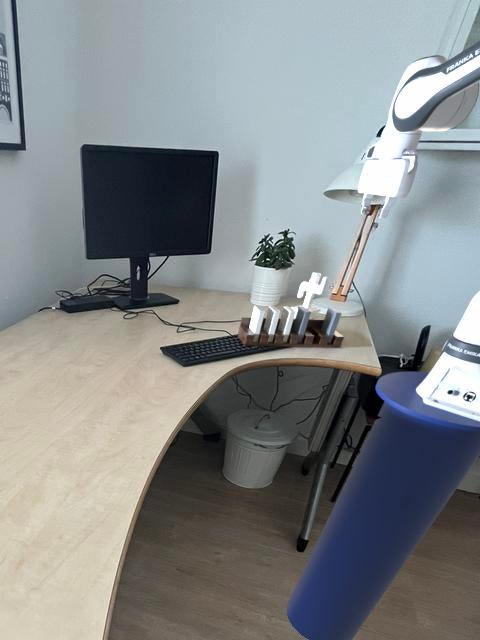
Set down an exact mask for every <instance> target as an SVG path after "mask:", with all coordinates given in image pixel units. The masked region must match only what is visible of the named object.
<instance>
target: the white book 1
mask: <svg viewBox="0 0 480 640" xmlns="http://www.w3.org/2000/svg"><path fill="white" fill-rule="evenodd" d="M265 314H266V310H264V309H263V307H262V306H260V305H253V310H252V314H251V317H250V318H251V322H250V326H249V329H250V330H251V332H252V333H253V334H254V339H253V342H257V341H258V337H259V333H260V329H261V325H262V322H263V318H265Z"/></svg>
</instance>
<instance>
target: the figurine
mask: <svg viewBox="0 0 480 640" xmlns="http://www.w3.org/2000/svg"><path fill="white" fill-rule="evenodd" d="M321 277H322V273H320V272H315V271H314V272H312V273H311V277H310V279H309V280H308V281H305V280H304V281H302V282H301V283H300V285H299V288H298V292H297V295H296V298H298V299H302V298H303V297H304V295H305V297H304V299H303V300H304V301H303V304H299V305H294V306H290V307H291V308H292V309H293V310H294V311H295V312H296V313H295V316H294V319H295V318H296V315H297V311H298V308H299V306H300V307H305V308H306V309H308V310H309V311H310V312H311V314H310V317H309V319H315V317H316V316H317V315H318V314H319V312H320V311H322V309H321V308H318V307H315V306H312V304H313V302H314V299H315V295H318V296H321V295H324V293H325V292H326V289H327V286H328V283H329V279H330V278H329V277H328V276H324V277H322V280H321V282H320V279H321ZM319 282H320V284H319ZM305 292H306V294H305Z"/></svg>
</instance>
